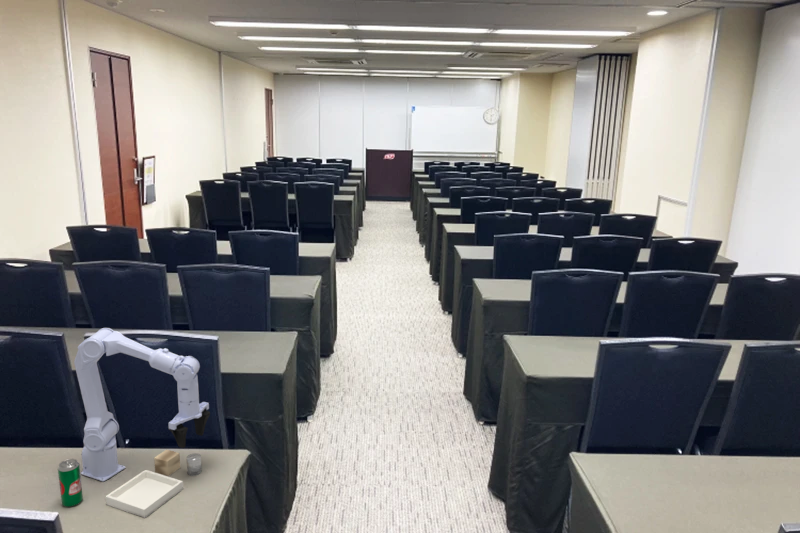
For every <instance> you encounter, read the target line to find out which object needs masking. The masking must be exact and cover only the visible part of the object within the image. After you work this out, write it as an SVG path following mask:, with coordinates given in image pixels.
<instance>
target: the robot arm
mask: <svg viewBox="0 0 800 533" xmlns="http://www.w3.org/2000/svg"><path fill="white" fill-rule="evenodd" d="M119 353H121V354H124V355H128V356H131V357H134V358H138V359H140V360H143V361H146V362H148V364H149V366H150V367H151V368H153V369H156V370H158V371H161V372H163V373H166V374H169V375H172V376H173V379H174V380H175V381H176V383H177V386H176V387H177V404H178V413H176V415H175V416H174V417H173V419H172V420H170V421H169V422H168V426H167V428H168V431H170V433H171V434H172V435H173V437H174V439H175V441H176V444H177V447H179V448H182V449H184V448H186V444H187V440H186V439H187V432H188V429H189V428H188V427H186V426H185V425H184V423H185V422H188V421H191V420H193V422H194V428H195V433H196V435H198V436H200V437H202V436H204V432H205V428H206V425H207V422H208V419H209V418H210V415H211V412H210V411H209V409H210V404H209V403H210V402H206V401H202V402H200V394H199V392H200V391H199V379H198V373H199V370H200V368H201V365H200V362H199V360H198V359H197V358H195V357H194V356H192V355H188V356H187V355H186V356H184V355H178V354H176V353H173V352H172V351H170V350H169V349H168V348H166V347H165V348H161V347H159V348H158V349H153V348H150V347H148V346H146V345H144V344H141V343H139V342H138V341H136V340H133V339H131V338H128V337H127V336H125V335H123V333H122V332H120V331H117V330H113V329H112V328H110V327H103V328H100V329H98V331H96V332H95V333H93V334H92V335H91V336H89V337H88V338H85V339H84V340H83V341H82V342H81V343H80V344H79V345H78V346H77V352H76V355H75V358H74V361H73V364H74V368H75V372H76V377H77V381H78V385H79V389H80V394H81V398H82V402H83V405H84V411H85V414H86V422H85V424H84V428H83V432H84V437H83V441H82V442H83V448H82V451H81V462H82V471H80V475H83V476H85V477H89V478H91V479H94V480H97V481H100V482H106V481H107V480H109V479H111V478H112V477H113V476H115V475H117V474H118V473H120V472H121V471H124V470H125V469H126V466H125V465H123V464H122V465H121V464H119V461H118V460H119V459H118V458H119V457H118V449H117V439H116V434H118V432H119V430H120V425H119V423H118V421H117V420H116V419H115V417H114V414H113V413H112V412H110V411H108V407H107V402H106V399H105V394H104V389H103V384H102V381H101V376H100V372H99V367H98V364H97V362H98V361H100V359H101V358H102V356H103V355H104V354H106V355H105V357H109V356H112V355H116V354H119Z"/></svg>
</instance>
